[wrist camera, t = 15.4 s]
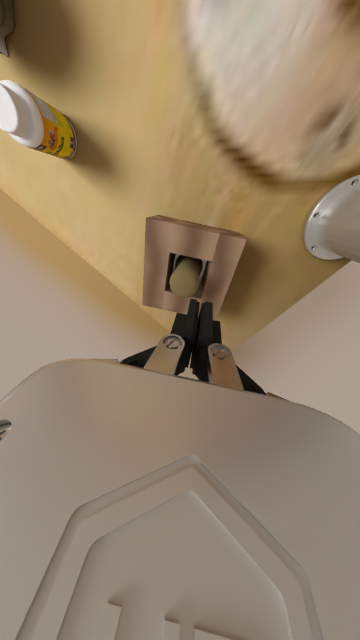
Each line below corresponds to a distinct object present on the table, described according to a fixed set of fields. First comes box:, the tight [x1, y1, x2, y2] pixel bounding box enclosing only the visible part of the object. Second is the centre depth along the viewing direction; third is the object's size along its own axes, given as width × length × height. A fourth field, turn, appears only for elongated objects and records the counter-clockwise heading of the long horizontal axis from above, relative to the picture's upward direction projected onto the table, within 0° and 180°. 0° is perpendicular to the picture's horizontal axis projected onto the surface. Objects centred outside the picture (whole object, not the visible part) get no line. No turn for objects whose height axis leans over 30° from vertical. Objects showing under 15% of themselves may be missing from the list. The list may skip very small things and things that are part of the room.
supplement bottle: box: [0, 80, 77, 159], centre depth 23 cm, size 6×6×10 cm
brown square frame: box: [143, 215, 247, 321], centre depth 33 cm, size 16×16×8 cm
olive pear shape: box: [169, 255, 203, 298], centre depth 31 cm, size 6×6×11 cm
